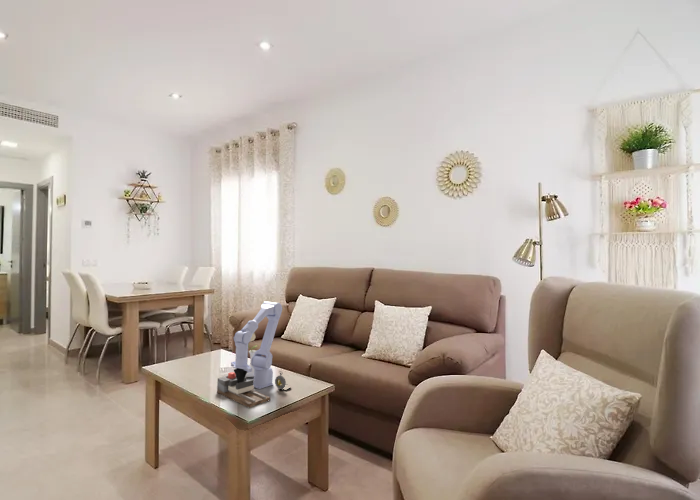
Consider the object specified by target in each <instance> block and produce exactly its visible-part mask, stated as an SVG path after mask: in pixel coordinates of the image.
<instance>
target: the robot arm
mask: <svg viewBox="0 0 700 500" xmlns="http://www.w3.org/2000/svg"><path fill="white" fill-rule="evenodd" d="M282 312H283V307H282V303H280V302H272V301H267V300H265V301H263V303H262V304H261V305H260V309H259V311H258V312H257V313H256V315H255V316H254V318H253V319H252V320H251V319H250V320H248V321H247V323H246V324H245V325H244V326H243V327H242V328H241V330H237V331H236V332H235V334H234V336H233V341H234V346H235V360H234V361H231V362H230V367H233V372H235V374H236V377H237V382H238V383H240V382H243V381H244V378H245V377H246V374H247V372H248V373H249V372H252V368H251V367H250V366H249V365H250V364H248V358H249V356H248V355H249V352H248V351H249V347H248V343H251V342H252V341H251V337H252V334H253V333H254V334H255V332H257V330H258V329H259V324H260V323H261V322H262V321H263V320H264V319H265V318H267V320H268V321H267V323H266V327H265V330H264V334H263V337H262V341H261V344H260V347H259V349H257V350H256V351H255V354H254V356H253V357H252V359H251V365H252V366H253V368H254V377H253V380H254V381H253V385H254V389H255V388H256V389H258V390H261V389H264V388H268V387H270V386H274V383H273V376H274V375H273V373H274V372H273V371H274V370H273V368H272V367H271V366H272V365H273V358H274V357H273V354H272V352H271V347H272V345H273V344H272V343H273V341H274V337H275V334H276V332H277V327H278V326H279V325H278V324H279V321H280V318H281V316H282ZM250 341H251V342H250Z"/></svg>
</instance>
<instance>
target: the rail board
mask: <svg viewBox="0 0 700 500" xmlns="http://www.w3.org/2000/svg"><path fill="white" fill-rule="evenodd" d="M234 379H237V377H235V378H233V379H229V378H228V375H224V376H222V377H217V382H216V383H217V386H216V393H218V394H220V395H221V396H223V397H225V398H227V399H230V400H232V401H235V402H236V403H238V404H241V405H242V406H244V407H247V408H248V407H249V408H252V407H255V406H258V405H260V403H261V404H264V403H267V402H269V401H268V400H270V401H271V396H268V395H266V394H263V393H261V392H259V391H257V390H254V389H253V390H250V391H247V392H243V393H240V394H236V393H234V392H232V391H230V390H228V386H229V381H230V380H234ZM266 401H267V402H266ZM263 402H264V403H263Z"/></svg>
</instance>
